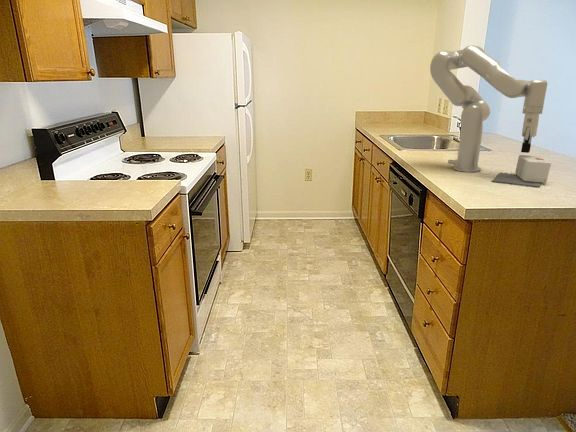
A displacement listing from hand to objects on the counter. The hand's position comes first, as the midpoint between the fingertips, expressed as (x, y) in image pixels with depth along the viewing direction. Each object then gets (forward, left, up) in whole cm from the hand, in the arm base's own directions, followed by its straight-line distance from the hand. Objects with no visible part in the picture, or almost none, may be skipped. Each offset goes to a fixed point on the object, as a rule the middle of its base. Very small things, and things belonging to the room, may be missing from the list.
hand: (525, 152), depth 185 cm
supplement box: (+1, +2, -6) cm, 6 cm away
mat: (0, -9, -11) cm, 14 cm away
